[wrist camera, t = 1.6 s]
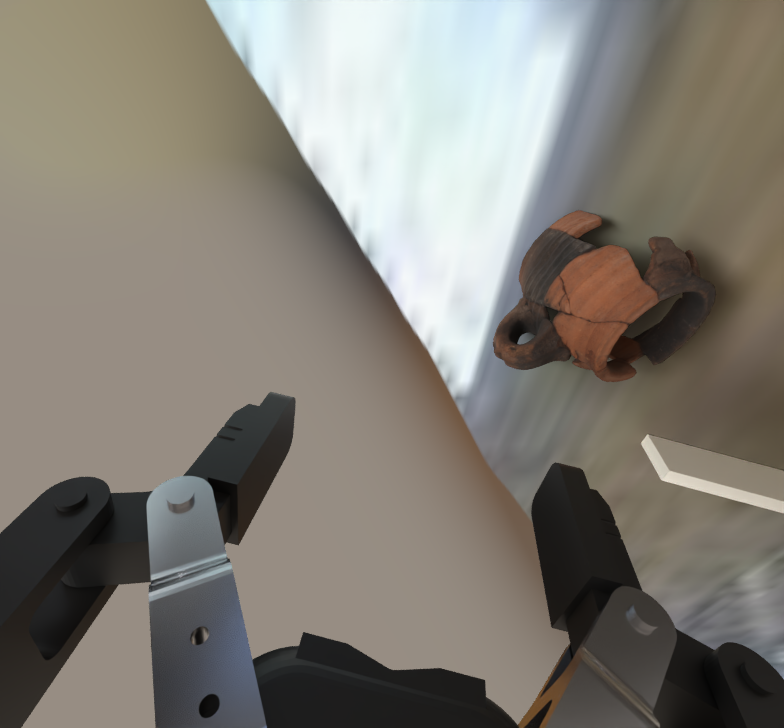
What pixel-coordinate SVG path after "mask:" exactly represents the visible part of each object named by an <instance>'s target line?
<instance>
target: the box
mask: <svg viewBox="0 0 784 728" xmlns="http://www.w3.org/2000/svg"><path fill="white" fill-rule="evenodd" d="M641 444H642V446H643V448H644V450H645V452H646V453H647V455H648V457H649V459H650V461H651V462H652V464H653V466H654V468H655V469H656V471H657V473H658V475H659V477H660V478H661V480H662V481H666V482H670V483H673V484H677V485H681V486H685V487H688V488H692V489H696V490H699V491H703V492H707V493H710V494H714V495H718V496H721V497H725V498H729V499H733V500H736V501H740V502H744V503H747V504H751V505H755V506H758V507H762V508H766V509H770V510H773V511H777V512H781V513H784V471H783V470H779V469H775V468H772V467H768V466H764V465H761V464H757V463H753V462H749V461H746V460H742V459H738V458H734V457H731V456H727V455H723V454H720V453H716V452H712V451H708V450H705V449H701V448H697V447H694V446H690V445H686V444H682V443H679V442H675V441H671V440H668V439H664V438H660V437H656V436H653V435H649V434H647V436H646V437H645V438H644V440H643V441H642V442H641Z"/></svg>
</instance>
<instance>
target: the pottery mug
mask: <svg viewBox="0 0 784 728" xmlns="http://www.w3.org/2000/svg"><path fill="white" fill-rule="evenodd" d="M601 224H602V219H601V218H600V217H599V216H597V215H594V214H590V213H586V212H583V211H575V212H573V213H570V214H568V215H566V216H564V217H563V218H561V219H559V220H558V221H556V222H555V223H554V224H552V225H551V226H550V227H549V228H548V229H546V230H545V231H544V232H543V233H542V234H541V235H540V236H539V238H538V239H537V240H535V241H534V243H533V244H532V246H531V247H530V249H529V250H528V252H527V253H526V255H525V257H524V259H523V262H522V266H521V269H520V274H519V281H520V284H521V287H522V292H523V298H522V299H520V301H519V303H518V305H517V306H516V307H515V308H514V309H513V310H512V311H511V312H510V313H508V314H507V315H506V316H505V317H504V319H503V320H502V321H501V322H500V324H499V326H498V328H497V330H496V333H495V336H494V342H493V346H494V353H495V355H496V356H497V357H498V358H500V359H502V360H504V362H505V364H506V365H507V366H509V367H512V368H515V369H521V370H528V369H533V368H536V367H539V366H542V365H544V364H547V363H550V362H553V361H567V360H569V359H570V357H571V355H573V356H574V357H575V358H576V359H574V360H573V362H572V363H573V364H574V365H576V366H578V367H581V368H584V369H588V370H593V371H594V373H595V375H596V376H597V377H598V378H600V379H601V380H603V381H606V382H617V381H622V380H627V379H630V378H632V377H634V375H635V374H636V370H635V369H634V368H633V367H632V366H631V365H630V363H632V362H634V361H636V360H637V359H639V358H640V357H642V356H643V355H647V357H648V358H649V359H650V361H651V362H652V364H654V365H656V364H659V363H661V362H663V361H664V360H666V359H667V358H668V357H670V356H671V355H672V354H674V353H675V352H676V351H677V350H678V349H680V348H681V347H682V346H683V345H684V344H685V343H686V342H687V341H688V340H689V339H690V338H691V337H692V336H693V335H694V334H695V332H696V331H697V330H698V328H699V327H700V325H701V324H702V323H703V322H704V320H705V319H706V317H707V316H708V315H709V313H710V310H711V307H712V306H713V304H714V300H715V295H716V291H715V287H714V285H712V284H711V283H710V282H708V281H706V280H705V279H703V278H700V271H699V267H698V263H697V260H696V258H695V257H694V254H693V252H692V251H691V250H688V251H686V252H685V253H684V252H683V251H682V250H681V249H679V248H677V247H676V246H675V245H674V243H673V241H672V240H671V239H669V238H666V237H652V238H650V239H649V241H648V244H649V247H650V249H651V250H652V252H653V253H652V255H651V261H650V264H649V268H648V270H647V271H646V273H645V275H644V277H643V279H642V278H641V276H640V273H639V270H638V269H637V268H636V266H635V263H634V261H633V259H632V258H631V256H630V254H629V252H628V251H627V249H625V248H621V247H619V246H616V245H607V246H604V247H601V248H599V249H596V247H595V246H594V245H592V244H590V243H587V242H583V241H581V240H579V239H578V238H579V237H581V236H582V235H583V234H585V233H587V232H589V231H591V230H593V229H595V228H597V227H599V226H601ZM679 293H683V297H682V298H679V299H678V300H677V301H676V302H675V304H674V305H673V307H672V308H671V310H670V311H669V312H668V314H667V315H666V316H665V317H664V318H663V320H662V321H661V322H660V323H658V324H656V325H655V326H654V327H652V328H650V329H649V330H647V331H645V332H643V333H642V334H640V335H638V336H636V337H635V338H633V339H631V338H628V337H626V336H621V335H622V334H623V333H624V332H625V330H626V329H627V328H628V326H629V325H630V324H631V323H633V322H634V321H635V320H636V319H638V318H639V317H640V316H641V315H642V314H644V313H645V312H646V311H648V310H649V309H650V308H652V307H653V306H655V305H656V304H657V303H658V302H660V301H662V300H665V299H667V298H670V297H672V296H674V295H677V294H679ZM547 307H550V308H552V309H554V310H557V311H559V312H558V314H557V315H556V316H555V317H554V319H553V322H552V321H550V317H549V314H548V311H547ZM527 332H528V333H533V334H534V335H536V336H535V337H534V338H533V339H532V340H530V341H529V342H527V343H525V344H521V345H519V344H517V342H518V340H519V338H520V336H521V335H522V334H524V333H527ZM608 357H609V358H611V359H612V360H611V361H608V362H607V359H608Z"/></svg>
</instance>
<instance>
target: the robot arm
mask: <svg viewBox="0 0 784 728" xmlns="http://www.w3.org/2000/svg"><path fill="white" fill-rule="evenodd" d="M294 416H295V398H294V397H290V396H285V395H281V394H277V393H273V392H270V393H269V394H268V395H267V397H266V398H265V399H264V401H263V402H262V403H261V405H260V406H256V405H252V404H248V405H246V406H245V407H243V408H241V409H240V410H238V411H236V412H235V413H234V414H233V415H232V416H231V417H230V419H229V420H228V421H227V422H226V424H225V426H224V427H222V429H221V430H220V431H219V432H218V434H217V436H216V437H214V439H213V440H212V441H211V442H210V444H209V445H208V446H207V447H206V449H205V450H204V451H203V452H202V454H201V455H200V456H199V457H198V458H197V460H196V461H195V462H194V464H193V465H192V466H191V467H190V468H189V470H188V471H187V472H186V473H185V474H184V476H181V477H176V478H173V479H170V480H168V481H166V482H164V483H163V484H161V485H159V486H158V487H157V488H156V489H155V490H154V491H150V492H134V493H110V489H109V486H108V485H107V484H106V483H105V482H104V481H103V480H101V479H98V478H95V477H78V478H73V479H69V480H66V481H63V482H60V483H58V484H56V485H54V486H53V487H51V488H49V489H48V490H46V491H45V492H44V493H43V494H41V495H40V496H39V497H38V498H37V499H36V500H35V501H34V502H33V503H32V504H31V505H30V506H29V507H28V508H27V509H25V510H24V511H23V512H22V513H21V514H20V515H19V516H18V517H17V518H16V519H15V520H14V521H13V522H12V523H11V524H10V525H9V526H8V527H6V529H4V530H3V531H2V532H1V534H0V728H21V727H22V726H23V724H24V722H25V721H26V720H27V718H28V717H29V715H30V714H31V712H32V711H33V709H34V708H35V706H36V705H37V704H38V702H39V701H40V699H41V698H42V696H43V695H44V693H45V692H46V690H47V689H48V687H49V686H50V685H51V683H52V682H53V680H54V679H55V677H56V676H57V674H58V673H59V671H60V670H61V668H62V667H63V665H64V664H65V662H66V661H67V659H68V658H69V656H70V655H71V654H72V652H73V651H74V649H75V648H76V646H77V645H78V643H79V642H80V640H81V639H82V638H83V636H84V635H85V633H86V632H87V630H88V628H89V627H90V626H91V624H92V623H93V621H94V620H95V618H96V617H97V616H98V614H99V613H100V611H101V610H102V608H103V607H104V605H105V604H106V602H107V601H108V599H109V598H110V597H111V595H112V594H113V592H114V591H115V589H116V588H117V586H118V585H119V584H131V583H143V582H151V585H149V610H150V630H151V649H152V666H153V667H152V668H153V686H154V705H155V722H156V723H155V724H156V728H784V680H783V678H782V677H781V676H780V674H779V673H778V672H777V671H776V670H775V669H774V668H773V667H772V666H771V665H770V664H769V663H768V662H767V661H766V660H765V659H764V658H762V657H761V656H760V655H758V654H757V653H756V652H754V651H752V650H751V649H749V648H747V647H745V646H743V645H740V644H737V643H733V642H728V643H724V644H722V645H721V646H720V647H718V648H717V649H716V650H713V649H711V648H710V647H708V646H706V645H704V644H702V643H701V642H699V641H697V640H695V639H693V638H692V637H690V636H688V635H686V634H684V633H682V632H681V631H679V630H677V629H676V628H675V626H674V624H673V622H672V620H671V618H670V617H669V615H668V614H667V612H666V611H665V610H664V608H663V607H662V606H661V605H660V604H659V603H658V602H657V601H656V600H654V599H653V598H652V597H651V596H649V595H648V594H646V593H645V592H643V591H642V589H641V586H640V584H639V581H638V579H637V576H636V573H635V571H634V568H633V566H632V563H631V561H630V558H629V555H628V553H627V550H626V548H625V545H624V543H623V540H622V539H621V535H620V532H619V530H618V527H617V526H615V523H616V522H615V520H614V517H613V514H612V512H611V509H610V507H609V505H608V504H607V503H606V501H605V500H604V499H603V498H602V496H601V495H600V494H599V493H598V491H597V490H593V489H590V488H589V485H588V482H587V479H586V477H585V474H584V472H583V470H582V469H580V468H576V467H572V466H568V465H564V464H560V463H554V464H552V466H551V467H550V469H549V471H548V472H547V474H546V476H545V478H544V480H543V482H542V483H541V485H540V487H539V489H538V491H537V493H536V494H535V496H534V499H533V503H532V510H531V514H532V521H533V527H534V532H535V538H536V544H537V549H538V555H539V560H540V566H541V571H542V577H543V583H544V588H545V594H546V599H547V605H548V610H549V616H550V621H551V627H552V628H555V629H559V630H563V631H566V632H568V634H569V639H570V643H569V644H568V646H567V647H566V648H565V650H564V652H563V653H562V655H561V657H560V658H559V660H558V662H557V663H556V665H555V667H554V668H553V670H552V672H551V674H550V675H549V677H548V679H547V680H546V682H545V684H544V686H543V687H542V689H541V691H540V692H539V694H538V696H537V698H536V699H535V701H534V702H533V704H532V706H531V707H530V708H529V710H528V712H527V713H526V714H525V715H524V717H523V718H522V720H521V721H520V723H519V724H518V725H517V724H516V723H515V721H514V720H513V719H512V718H511V717H510V716H509V715H508V714H507V713H506V712H505V711H504V710H503V709H502V708H500V707H499V706H498V705H496V704H495V703H494V702H493V701H491V700H490V699H488V698H487V697H486V691H485V680H483V679H479V678H475V677H471V676H468V675H464V674H460V673H456V672H452V671H449V670H445V669H441V668H434V669H414V670H391V669H389V668H387V667H385V666H383V665H382V664H380V663H378V662H377V661H375V660H373V659H372V658H370V657H368V656H367V655H365V654H363V653H362V652H360V651H359V650H357V649H355V648H353V647H352V646H350V645H349V644H346V643H342V642H339V641H334V640H331V639H327V638H324V637H320V636H316V635H312V634H309V633H305V632H303V635H302V638H301V642H300V645H299V646H290V647H285V648H280V649H276V650H273V651H270V652H267V653H265V654H263V655H261V656H259V657H257V658H254V659H253V660H252V657H251V652H250V647H249V644H248V638H247V634H246V629H245V624H244V620H243V616H242V611H241V606H240V602H239V597H238V592H237V588H236V583H235V579H234V575H233V570H232V566H231V562H230V559H228V558H227V555H226V550H225V546H224V545H225V544H226V542H228V543H232V544H235V545H239V543H240V542H241V540H242V538H243V536H244V534H245V532H246V530H247V529H248V527H249V525H250V523H251V521H252V519H253V517H254V516H255V514H256V512H257V510H258V508H259V506H260V504H261V503H262V501H263V499H264V497H265V495H266V493H267V491H268V490H269V488H270V486H271V484H272V482H273V480H274V478H275V476H276V474H277V473H278V471H279V469H280V467H281V465H282V463H283V461H284V460H285V458H286V456H287V454H288V452H289V449H290V446H291V443H292V438H293V428H294Z"/></svg>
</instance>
